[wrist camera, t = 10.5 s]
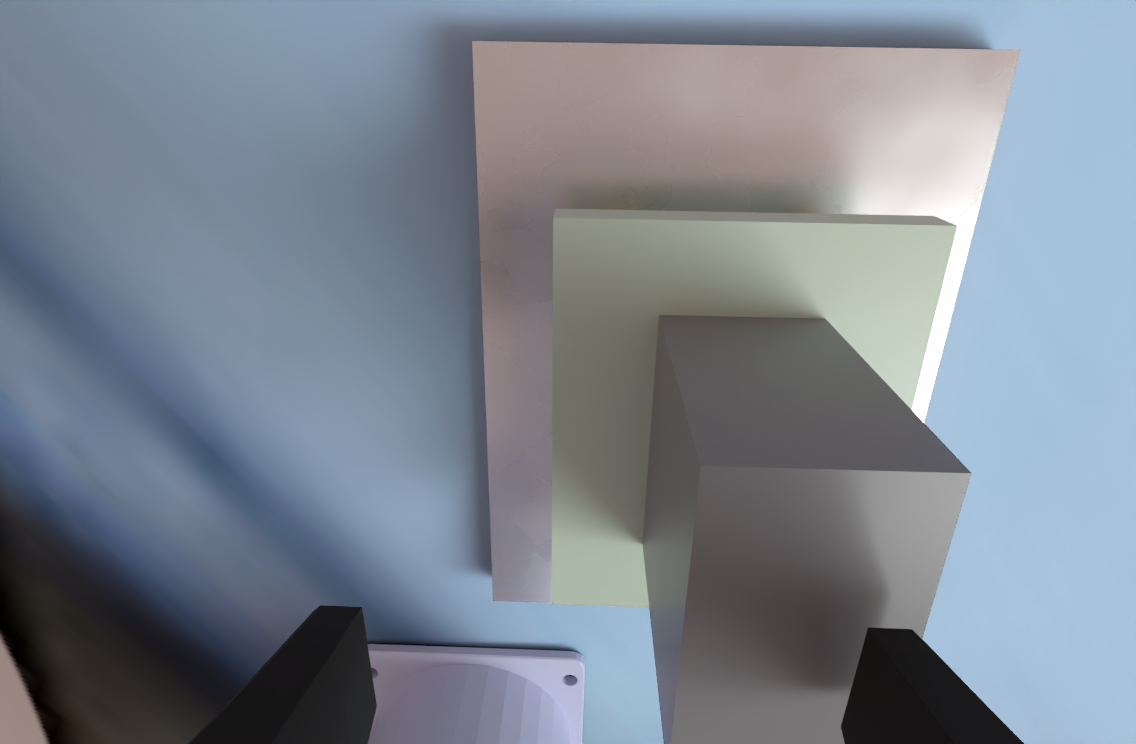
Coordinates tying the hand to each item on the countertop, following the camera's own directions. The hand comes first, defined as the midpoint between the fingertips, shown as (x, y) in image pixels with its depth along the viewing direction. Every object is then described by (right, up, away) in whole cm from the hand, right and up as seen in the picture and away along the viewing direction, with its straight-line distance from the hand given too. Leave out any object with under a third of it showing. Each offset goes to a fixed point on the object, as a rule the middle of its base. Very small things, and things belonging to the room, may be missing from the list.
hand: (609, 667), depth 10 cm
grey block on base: (+3, +3, +7) cm, 8 cm away
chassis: (+3, +5, +9) cm, 11 cm away
